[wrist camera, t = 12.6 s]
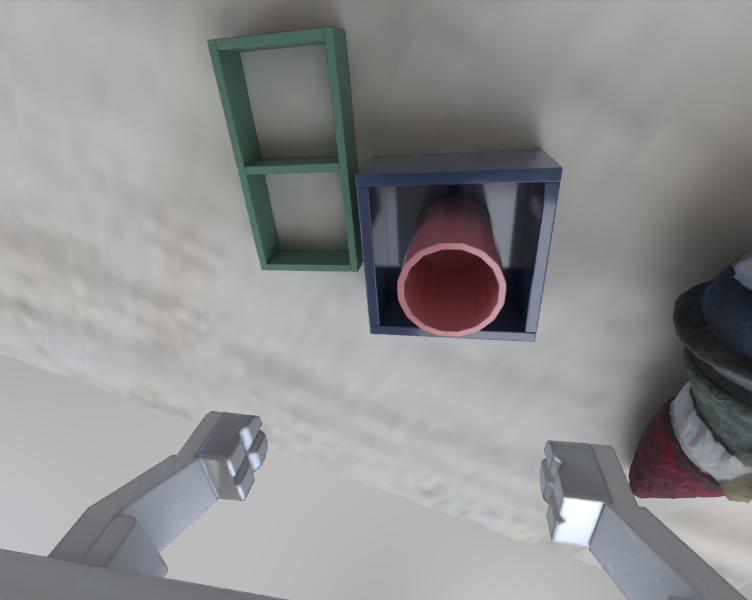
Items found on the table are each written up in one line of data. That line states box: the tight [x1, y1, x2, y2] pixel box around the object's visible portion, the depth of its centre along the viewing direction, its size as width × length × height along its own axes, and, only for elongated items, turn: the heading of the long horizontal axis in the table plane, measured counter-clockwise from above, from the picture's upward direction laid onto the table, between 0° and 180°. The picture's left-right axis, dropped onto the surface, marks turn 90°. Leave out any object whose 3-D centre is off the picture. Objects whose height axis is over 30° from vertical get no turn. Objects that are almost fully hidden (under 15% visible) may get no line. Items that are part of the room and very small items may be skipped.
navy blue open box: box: [355, 149, 563, 342], centre depth 29 cm, size 12×12×6 cm
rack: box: [207, 26, 363, 272], centre depth 30 cm, size 16×8×3 cm, turn 4°
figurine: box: [629, 249, 752, 503], centre depth 30 cm, size 29×17×15 cm
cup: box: [397, 196, 506, 337], centre depth 27 cm, size 6×6×10 cm
